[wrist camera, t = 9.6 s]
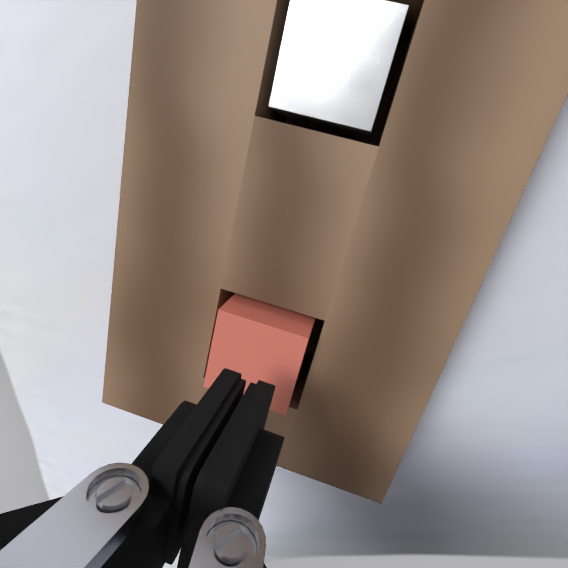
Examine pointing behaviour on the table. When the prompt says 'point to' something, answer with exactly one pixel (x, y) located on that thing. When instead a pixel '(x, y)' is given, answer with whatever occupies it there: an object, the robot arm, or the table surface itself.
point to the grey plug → (336, 63)
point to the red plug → (260, 345)
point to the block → (322, 213)
